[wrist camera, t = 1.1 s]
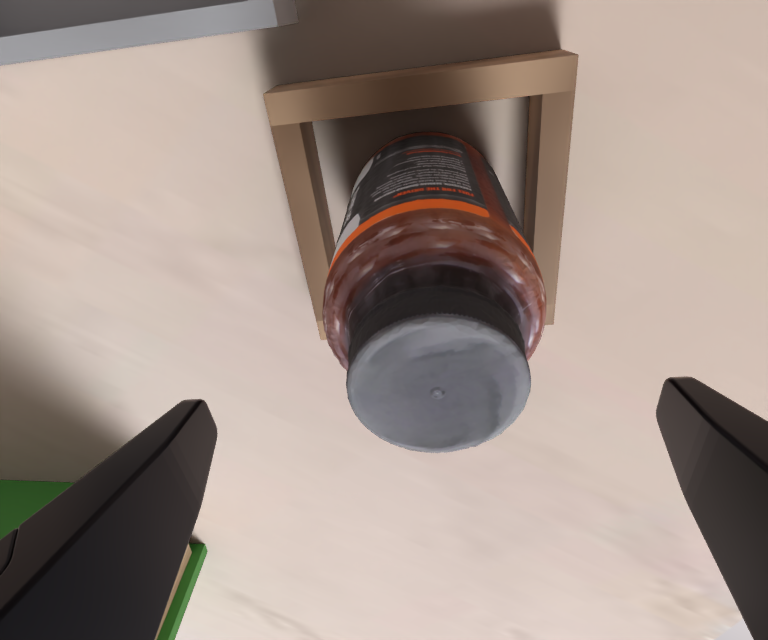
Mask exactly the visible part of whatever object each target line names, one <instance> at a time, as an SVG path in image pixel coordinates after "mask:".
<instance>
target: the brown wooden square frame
mask: <svg viewBox="0 0 768 640" xmlns="http://www.w3.org/2000/svg"><path fill="white" fill-rule="evenodd" d="M577 65H578V54H575V53H572V52H568V51H565V50H562V49H560V50H552V51H544V52H537V53H529V54H521V55H513V56H505V57H497V58H489V59H481V60H473V61H466V62H458V63H450V64H442V65H434V66H426V67H418V68H410V69H402V70H395V71H387V72H379V73H371V74H363V75H355V76H347V77H339V78H331V79H324V80H316V81H308V82H300V83H292V84H284V85H277V86H276V87H274V88H272V89H271V90H269V91H267V92H266V93H264V94H263V96H264V101H265V105H266V109H267V113H268V118H269V122H270V126H271V130H272V135H273V139H274V143H275V147H276V152H277V156H278V160H279V164H280V169H281V173H282V177H283V181H284V186H285V190H286V194H287V198H288V203H289V207H290V211H291V215H292V220H293V224H294V228H295V232H296V237H297V241H298V245H299V249H300V254H301V258H302V262H303V266H304V271H305V275H306V279H307V283H308V288H309V292H310V296H311V300H312V305H313V309H314V313H315V317H316V322H317V326H318V330H319V334H320V339H321V340H327V337H326V333H325V331H324V325H323V318H322V311H323V296H324V289H325V284H326V280H327V276H328V273H329V268H330V266H331V262H332V259H333V256H334V253H335V250H336V247H335V242H334V237H333V231H332V226H331V221H330V215H329V210H328V205H327V200H326V194H325V189H324V184H323V178H322V173H321V168H320V163H319V157H318V152H317V147H316V142H315V136H314V131H313V126H312V121H319V120H328V119H336V118H345V117H353V116H362V115H370V114H379V113H387V112H396V111H404V110H413V109H421V108H430V107H438V106H447V105H455V104H464V103H472V102H481V101H489V100H498V99H506V98H515V97H523V96H529V118H528V140H527V162H526V184H525V207H524V229H523V233H524V235H525V237H526V240H527V242H528V244H529V246H530V248H531V250H532V252H533V255H534V257H535V259H536V262H537V264H538V267H539V269H540V272H541V275H542V278H543V282H544V287H545V291H546V299H547V303H546V320H545V325H552V324H554V313H555V302H556V291H557V281H558V270H559V259H560V248H561V237H562V227H563V216H564V205H565V194H566V184H567V173H568V162H569V151H570V141H571V130H572V119H573V108H574V98H575V87H576V76H577Z"/></svg>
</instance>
